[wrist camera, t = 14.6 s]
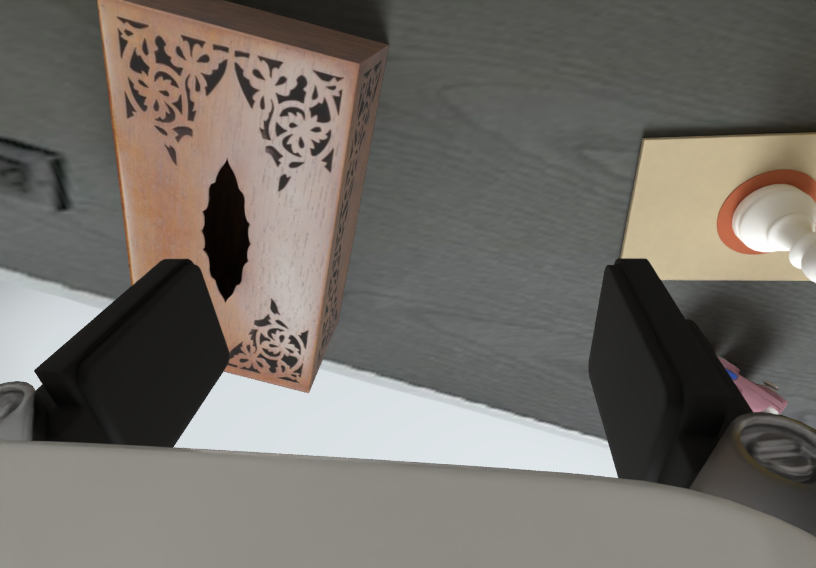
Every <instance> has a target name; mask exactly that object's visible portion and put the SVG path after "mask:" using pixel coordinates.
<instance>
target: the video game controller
mask: <svg viewBox="0 0 816 568" xmlns="http://www.w3.org/2000/svg"><path fill="white" fill-rule="evenodd" d="M717 357H718V358H719V360H720V361H721V363H722V364H723V366H724V367H725V369H726V371H727V372H728V374H729V375H730V377H731V378H732V380H733V381H734V383H735V384H736V386H737V387H738V389H739V391H740V392H741V394H742V395H743V397H744V398H745V400H746V401H747V403H748V404H749V406H750V408H751V409H752V411H753V412H767V413H773V414H778V415H779V414H780V413H781V412H782V411H783V410H784V408H785V407H786V406H787V404H788V401H786V400H785V399H783V398H782V397H781V396H779V395H778V394H777V393H776V391H775V390H774V389H776V390H779V389H778V387H777V386H776V385H775V384H773V383H771V382H765V381H764V382H763V383H765V384H766V385H759V384H756V383H753V382H751V381H749V380H748V379H746V378H744V377H743V376H741V375H739V372H740V370H739V369H738V368H737V367H736V366H734V365H733V364H731V363H729V362H728V361H727V360H725V359H724V358H722V357H720V356H718V355H717Z"/></svg>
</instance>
